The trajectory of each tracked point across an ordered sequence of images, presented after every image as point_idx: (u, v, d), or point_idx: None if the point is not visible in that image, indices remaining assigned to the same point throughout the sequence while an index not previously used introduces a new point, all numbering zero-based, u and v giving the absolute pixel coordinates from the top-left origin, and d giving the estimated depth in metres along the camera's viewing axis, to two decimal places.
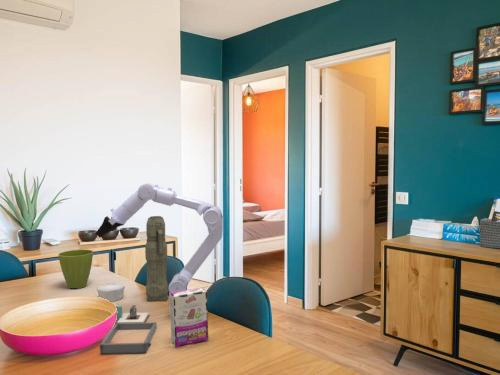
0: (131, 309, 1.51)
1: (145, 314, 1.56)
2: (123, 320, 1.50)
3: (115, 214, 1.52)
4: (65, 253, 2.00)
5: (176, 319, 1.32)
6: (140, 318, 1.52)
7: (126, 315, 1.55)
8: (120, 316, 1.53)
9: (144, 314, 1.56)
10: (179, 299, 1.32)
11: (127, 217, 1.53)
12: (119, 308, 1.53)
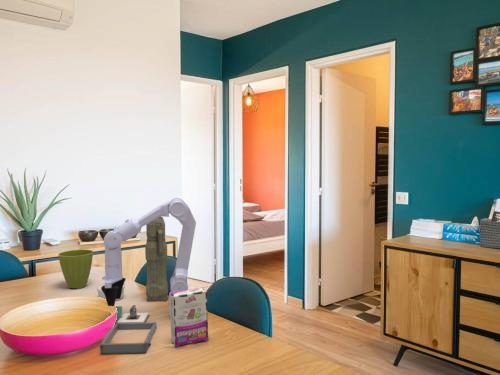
0: (131, 309, 1.51)
1: (145, 314, 1.56)
2: (123, 320, 1.50)
3: (107, 278, 1.50)
4: (65, 253, 2.00)
5: (176, 319, 1.32)
6: (140, 318, 1.52)
7: (126, 315, 1.55)
8: (120, 316, 1.53)
9: (144, 314, 1.56)
10: (179, 299, 1.32)
11: (118, 271, 1.50)
12: (119, 308, 1.53)
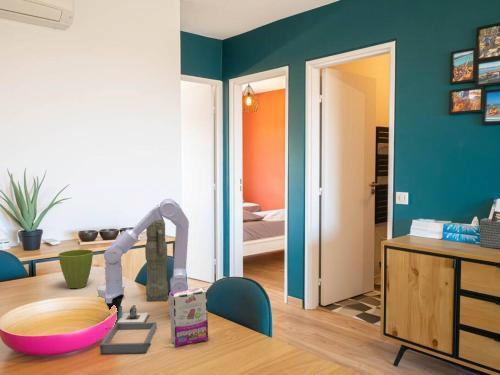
0: (131, 309, 1.51)
1: (145, 314, 1.56)
2: (123, 320, 1.50)
3: (108, 293, 1.50)
4: (65, 253, 2.00)
5: (176, 319, 1.32)
6: (140, 318, 1.52)
7: (126, 315, 1.55)
8: (120, 316, 1.53)
9: (144, 314, 1.56)
10: (179, 299, 1.32)
11: (118, 286, 1.51)
12: (119, 308, 1.53)
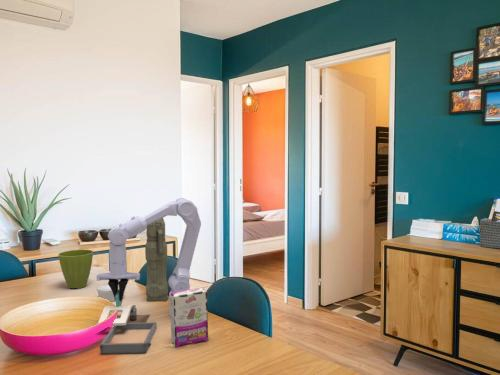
0: (131, 309, 1.51)
1: (120, 321, 1.41)
2: (108, 309, 1.47)
3: None
4: (65, 253, 2.00)
5: (176, 319, 1.32)
6: None
7: (122, 308, 1.47)
8: None
9: (119, 320, 1.41)
10: (179, 299, 1.32)
11: (111, 269, 1.47)
12: None
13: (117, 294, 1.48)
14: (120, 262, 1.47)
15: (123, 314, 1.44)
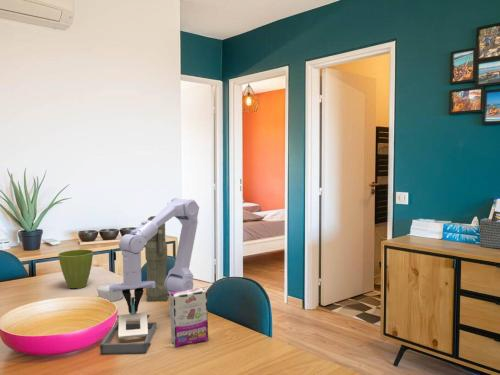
0: None
1: (141, 332, 1.36)
2: (123, 318, 1.39)
3: None
4: (65, 253, 2.00)
5: (176, 319, 1.32)
6: (128, 331, 1.35)
7: (138, 316, 1.41)
8: (131, 312, 1.41)
9: (140, 331, 1.36)
10: (179, 299, 1.32)
11: (127, 279, 1.38)
12: (131, 305, 1.40)
13: (132, 302, 1.41)
14: (139, 270, 1.39)
15: (142, 324, 1.39)
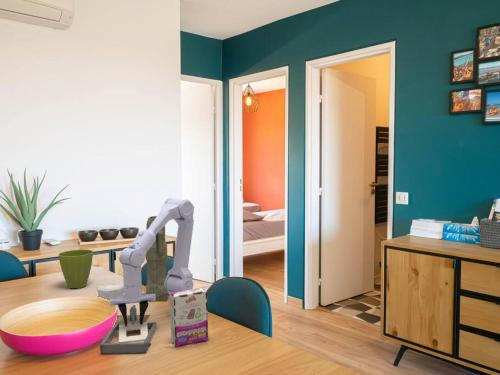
0: None
1: (142, 338, 1.36)
2: (123, 327, 1.41)
3: None
4: (65, 253, 2.00)
5: (176, 319, 1.32)
6: (129, 337, 1.36)
7: (139, 325, 1.42)
8: None
9: (141, 337, 1.36)
10: (179, 299, 1.32)
11: (128, 293, 1.38)
12: (131, 314, 1.42)
13: (132, 311, 1.43)
14: (139, 284, 1.40)
15: (142, 331, 1.40)
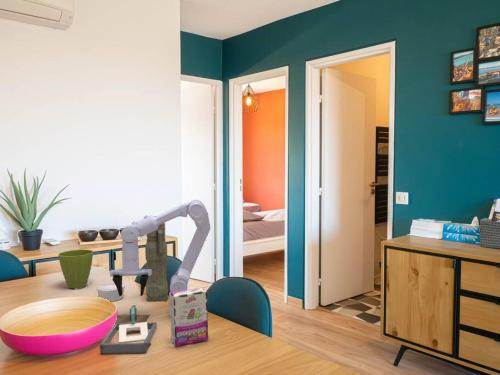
0: None
1: (142, 338, 1.36)
2: (123, 327, 1.41)
3: None
4: (65, 253, 2.00)
5: (176, 319, 1.32)
6: (129, 337, 1.36)
7: (139, 325, 1.42)
8: None
9: (141, 337, 1.36)
10: (179, 299, 1.32)
11: (124, 265, 1.52)
12: (131, 314, 1.42)
13: (132, 311, 1.43)
14: (131, 259, 1.51)
15: (142, 331, 1.40)
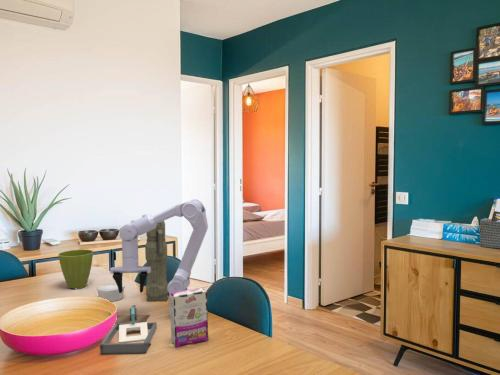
0: None
1: (142, 338, 1.36)
2: (123, 327, 1.41)
3: None
4: (65, 253, 2.00)
5: (176, 319, 1.32)
6: (129, 337, 1.36)
7: (139, 325, 1.42)
8: None
9: (141, 337, 1.36)
10: (179, 299, 1.32)
11: (124, 263, 1.56)
12: (131, 314, 1.42)
13: (132, 311, 1.43)
14: (129, 256, 1.55)
15: (142, 331, 1.40)
